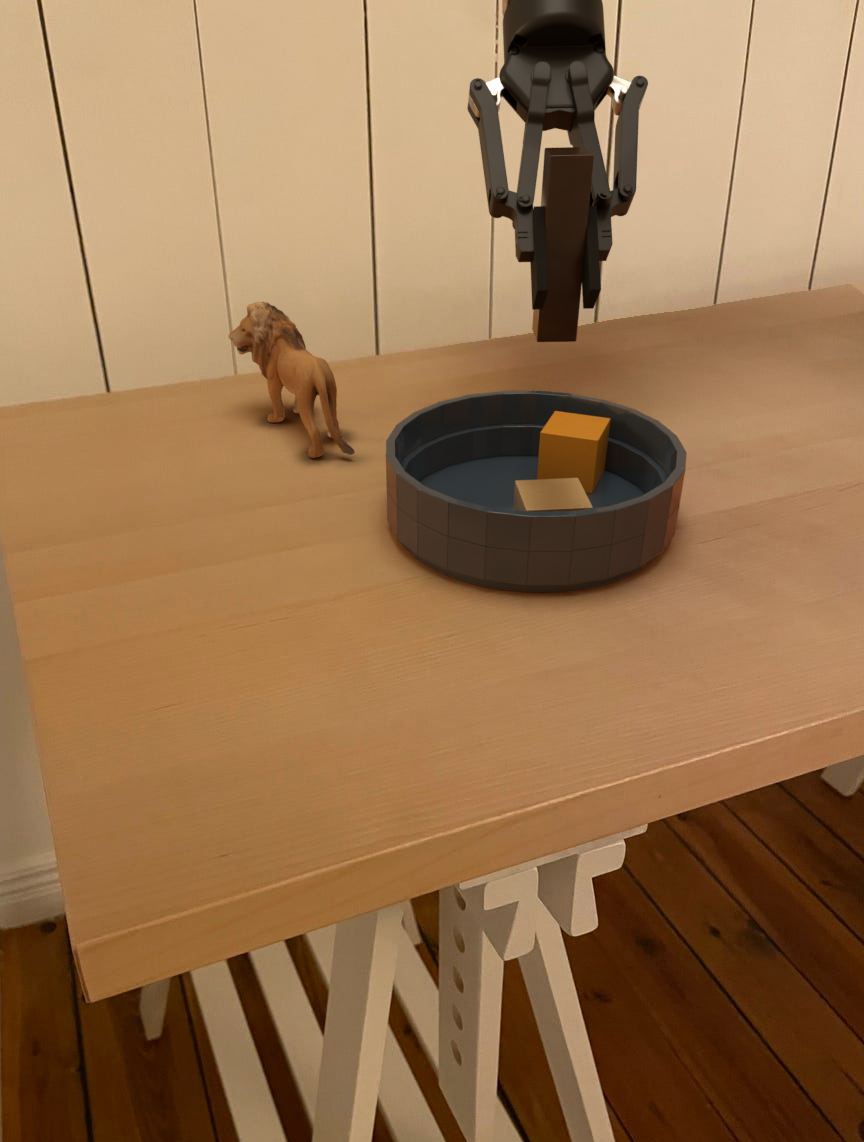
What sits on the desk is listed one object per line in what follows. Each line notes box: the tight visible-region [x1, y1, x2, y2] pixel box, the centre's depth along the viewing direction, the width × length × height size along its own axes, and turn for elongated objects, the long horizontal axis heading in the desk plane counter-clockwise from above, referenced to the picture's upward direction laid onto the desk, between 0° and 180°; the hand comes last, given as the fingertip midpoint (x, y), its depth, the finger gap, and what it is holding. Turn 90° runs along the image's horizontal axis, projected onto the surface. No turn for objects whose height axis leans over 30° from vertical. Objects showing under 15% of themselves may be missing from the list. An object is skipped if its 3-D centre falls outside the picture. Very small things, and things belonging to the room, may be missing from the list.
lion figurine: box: [228, 301, 356, 459], centre depth 79 cm, size 15×5×9 cm, turn 36°
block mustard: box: [537, 411, 611, 494], centre depth 71 cm, size 4×4×4 cm
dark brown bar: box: [531, 146, 594, 343], centre depth 74 cm, size 3×3×13 cm
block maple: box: [513, 478, 593, 512], centre depth 63 cm, size 4×4×4 cm
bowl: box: [385, 389, 687, 593], centre depth 67 cm, size 19×19×6 cm
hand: (566, 299), depth 72 cm, fingers closed on dark brown bar, 3 cm apart
